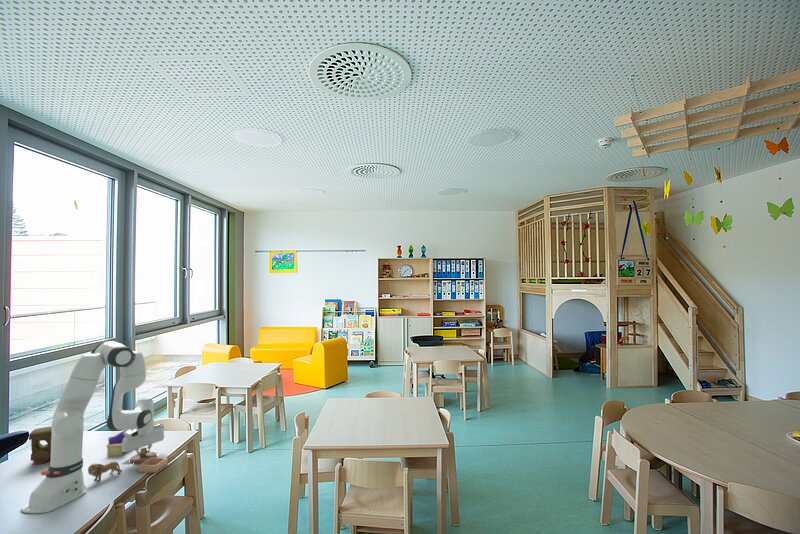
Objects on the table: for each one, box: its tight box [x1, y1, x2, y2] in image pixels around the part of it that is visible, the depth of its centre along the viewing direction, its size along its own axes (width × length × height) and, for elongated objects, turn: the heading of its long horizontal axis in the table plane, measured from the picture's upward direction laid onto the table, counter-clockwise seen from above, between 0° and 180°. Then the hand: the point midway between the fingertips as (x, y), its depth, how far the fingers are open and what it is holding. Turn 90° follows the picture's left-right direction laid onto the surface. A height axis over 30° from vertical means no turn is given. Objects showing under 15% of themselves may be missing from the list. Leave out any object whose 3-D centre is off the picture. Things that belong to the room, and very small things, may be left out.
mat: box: [121, 452, 159, 466], centre depth 210 cm, size 14×14×1 cm
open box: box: [137, 457, 169, 474], centre depth 199 cm, size 9×9×4 cm
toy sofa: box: [106, 430, 127, 457], centre depth 224 cm, size 21×9×10 cm, turn 1°
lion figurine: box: [87, 461, 122, 482], centre depth 190 cm, size 15×5×9 cm, turn 152°
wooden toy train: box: [28, 425, 52, 465], centre depth 211 cm, size 20×11×17 cm, turn 119°
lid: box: [129, 446, 157, 464], centre depth 210 cm, size 12×12×5 cm
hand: (143, 454), depth 210 cm, fingers closed on lid, 3 cm apart
